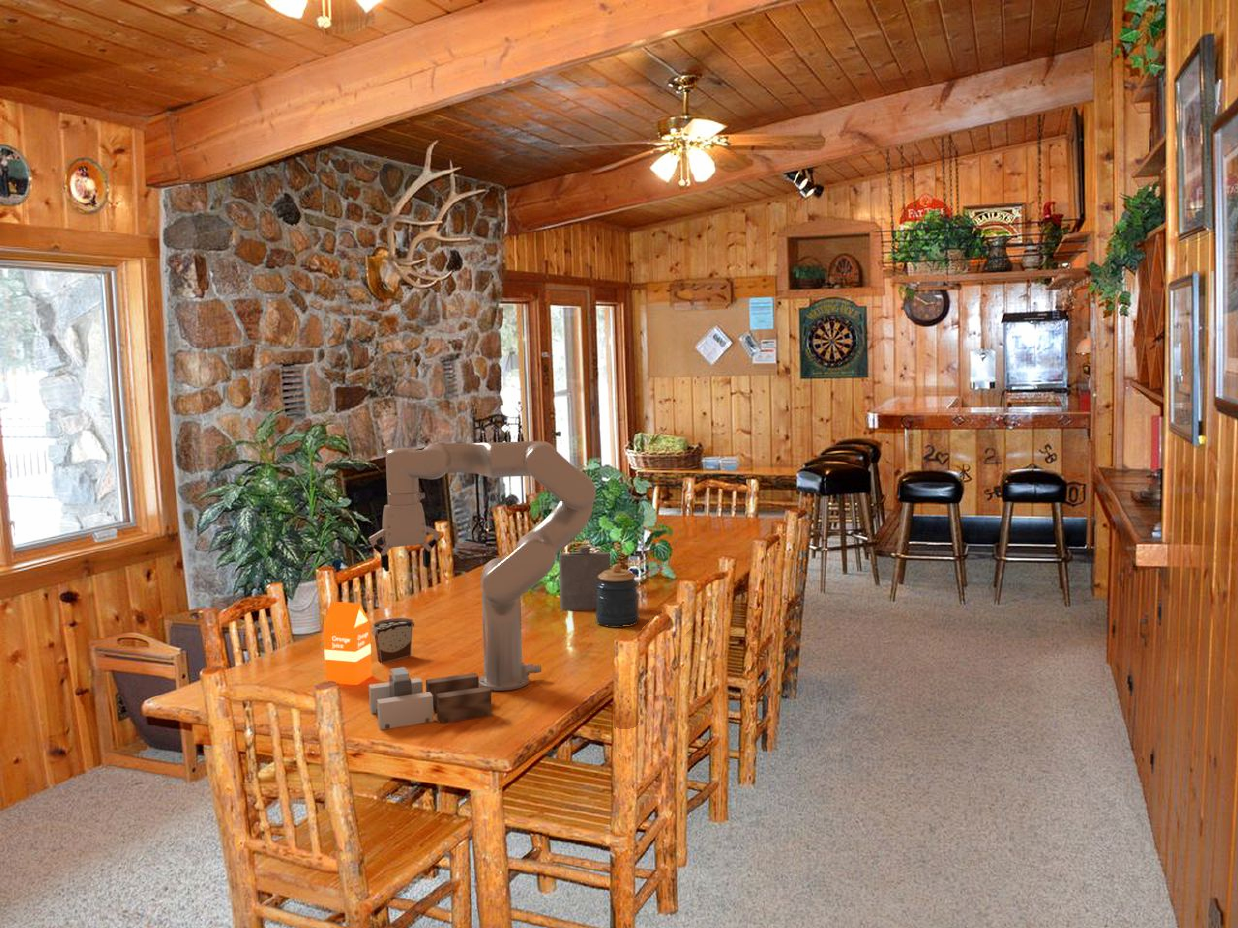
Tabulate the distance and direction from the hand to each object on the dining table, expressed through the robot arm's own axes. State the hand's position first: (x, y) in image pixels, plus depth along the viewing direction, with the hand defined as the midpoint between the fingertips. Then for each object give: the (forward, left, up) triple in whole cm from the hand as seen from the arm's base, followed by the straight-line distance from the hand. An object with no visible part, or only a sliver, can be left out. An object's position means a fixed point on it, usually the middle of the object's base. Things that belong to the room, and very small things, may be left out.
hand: (406, 568), depth 268 cm
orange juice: (+13, -14, -31) cm, 36 cm away
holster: (-7, +20, -30) cm, 37 cm away
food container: (0, -28, -31) cm, 41 cm away
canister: (-69, -34, -31) cm, 83 cm away
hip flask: (-66, -53, -31) cm, 90 cm away
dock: (+6, +18, -30) cm, 36 cm away
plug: (+6, +18, -30) cm, 36 cm away
